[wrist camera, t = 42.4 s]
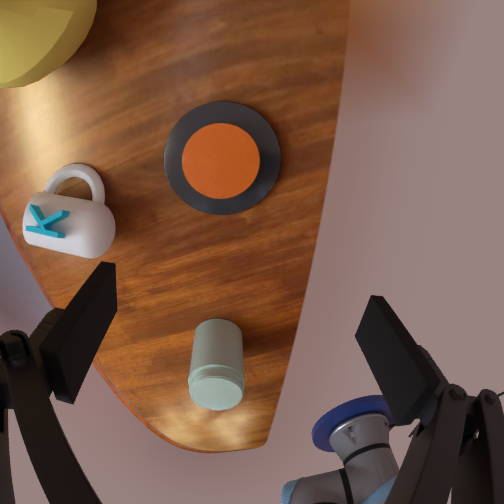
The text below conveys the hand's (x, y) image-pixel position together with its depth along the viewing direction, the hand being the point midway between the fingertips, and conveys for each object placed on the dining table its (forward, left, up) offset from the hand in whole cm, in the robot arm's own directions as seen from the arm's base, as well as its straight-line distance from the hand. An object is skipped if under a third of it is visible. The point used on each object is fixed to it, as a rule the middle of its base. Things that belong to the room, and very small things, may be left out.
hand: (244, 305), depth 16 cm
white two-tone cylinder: (+20, +5, -26) cm, 34 cm away
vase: (+28, -20, -26) cm, 44 cm away
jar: (-1, +24, -26) cm, 35 cm away
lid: (+2, -3, -23) cm, 23 cm away
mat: (+2, -3, -26) cm, 26 cm away
